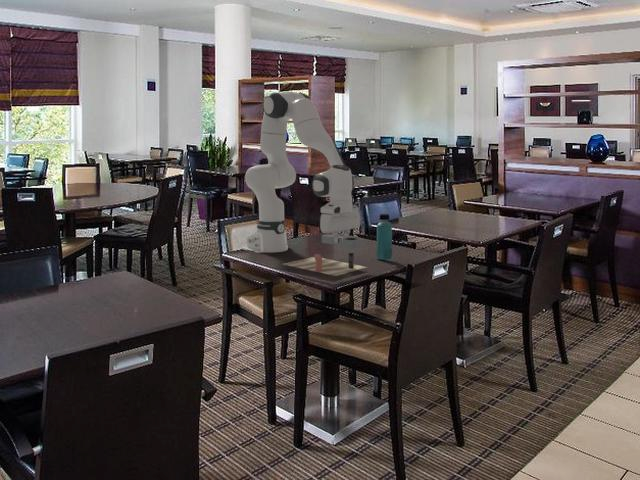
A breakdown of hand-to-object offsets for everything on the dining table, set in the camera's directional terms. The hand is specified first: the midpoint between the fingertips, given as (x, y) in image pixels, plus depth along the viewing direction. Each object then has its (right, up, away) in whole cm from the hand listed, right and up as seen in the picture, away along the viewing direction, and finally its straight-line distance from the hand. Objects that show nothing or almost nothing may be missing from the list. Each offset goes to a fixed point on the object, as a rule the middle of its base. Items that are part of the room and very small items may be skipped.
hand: (341, 241), depth 258 cm
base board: (-7, -11, +3) cm, 13 cm away
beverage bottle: (+18, -9, +14) cm, 24 cm away
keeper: (-9, -11, -3) cm, 14 cm away
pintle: (+4, -11, -1) cm, 12 cm away
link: (0, -1, 0) cm, 1 cm away
